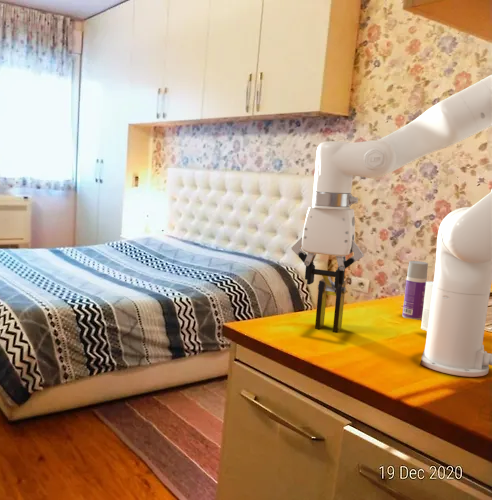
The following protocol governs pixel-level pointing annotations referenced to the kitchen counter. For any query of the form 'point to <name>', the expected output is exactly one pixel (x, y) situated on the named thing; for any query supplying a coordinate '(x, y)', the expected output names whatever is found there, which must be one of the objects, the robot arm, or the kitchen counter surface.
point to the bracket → (322, 303)
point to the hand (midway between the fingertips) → (323, 284)
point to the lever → (327, 280)
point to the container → (415, 290)
